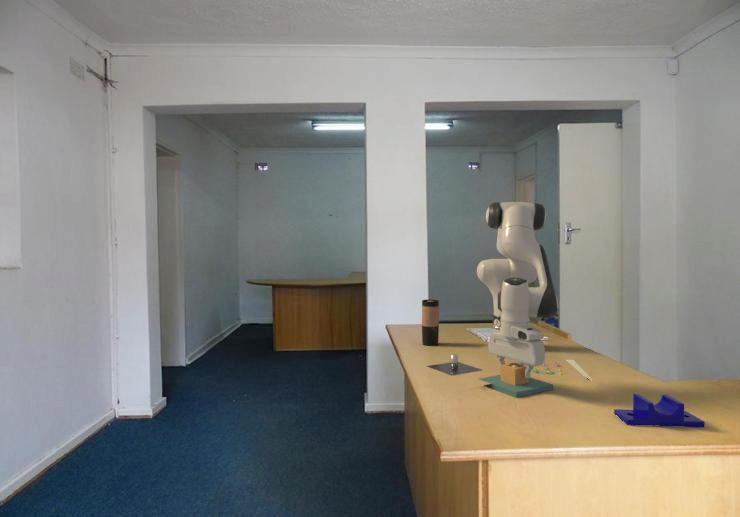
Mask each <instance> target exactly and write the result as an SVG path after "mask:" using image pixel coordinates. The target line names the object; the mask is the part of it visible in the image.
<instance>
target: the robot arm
mask: <svg viewBox="0 0 740 517" xmlns="http://www.w3.org/2000/svg"><path fill="white" fill-rule="evenodd" d="M485 220H486V223H487V226H488V227H489V228H491V229H495V230H497V236H496V249H497V250H496V251H497V252H499V253H500V255H502V256H503V257H506V258H488V259H484V260H481V261H480V262H479V263H478V265H477V267H476V275H477V277H478V280H480V282H482V283H483V284H484V285H485V286H486V287H487V288H488V290H489V292H490V293H491V296H492V304H493V314H492V324H493V326H492V328H490V334H489V338H488V352H489V354H492V355H495V356H496V359H497V361H498V364H499V369H500V371H501V365H503V364H506V361H505V359H509V360H513V361H515V362H518V363H520V362H522V363H523V364H524V366H525V367H527V368H526V370H525V371H523V377H525V378H530V377H531V372H532V370H533V369H534V368H535V367H538V366H543V364H544V362H545V361H546V355H545V354H546V351H545V350H546V349H545V344H544V341H543V339H544V337H545V335H544V332H543V331H542V330H540V329H538V328H536V327H535V326H533V325H532V324H531V321H530V320H531V319H530V317H531V318H539V319H540V318H541V319H551V317H553V316H554V315H555V314H556V313H558V309H559V299H558V294H556V290H555V287H554V284H553V279H552V274H551V273H552V272H551V269H550V266H549V265H550V264H549V261H548V257H547V254H546V250H545V248H544V246H543V245H542V244H539V242H537V240H536V238H535V236H534V235H535V234H534V233H535V231H539V230H541V229H542V228H543V227H544V224H545V223H546V220H547V212H546V209H545V206H544V205H543V204H541V203H537V202H533V203H532V202H528V201H527V202H525V201H505V202H500V201H496V202H491V203H490V204H489V205H488V207H487V210H486V212H485ZM537 278H538V279H537ZM536 279H537V280H538V283H539V286H537V287H536V286H535V287H532V286H531V287H530V286H529V284H530V283H534V282H535V281H536Z"/></svg>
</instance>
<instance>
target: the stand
mask: <svg viewBox="0 0 740 517" xmlns="http://www.w3.org/2000/svg"><path fill="white" fill-rule="evenodd" d="M426 367H428V368H430V369H433V370H436V371H439V372H440V373H444V374H446V375H449V376H457V375H458V376H459V375H464V374H465V375H466V374H468V373H469V374H470V373H475V372H482V371H483V369H482V368H478V367H475V366H472V365H469V364H466V363H463V362H460V361H459V355H458V354H451V355H450V361H449V362H443V363H437V364H432V365H427V366H426Z"/></svg>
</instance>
